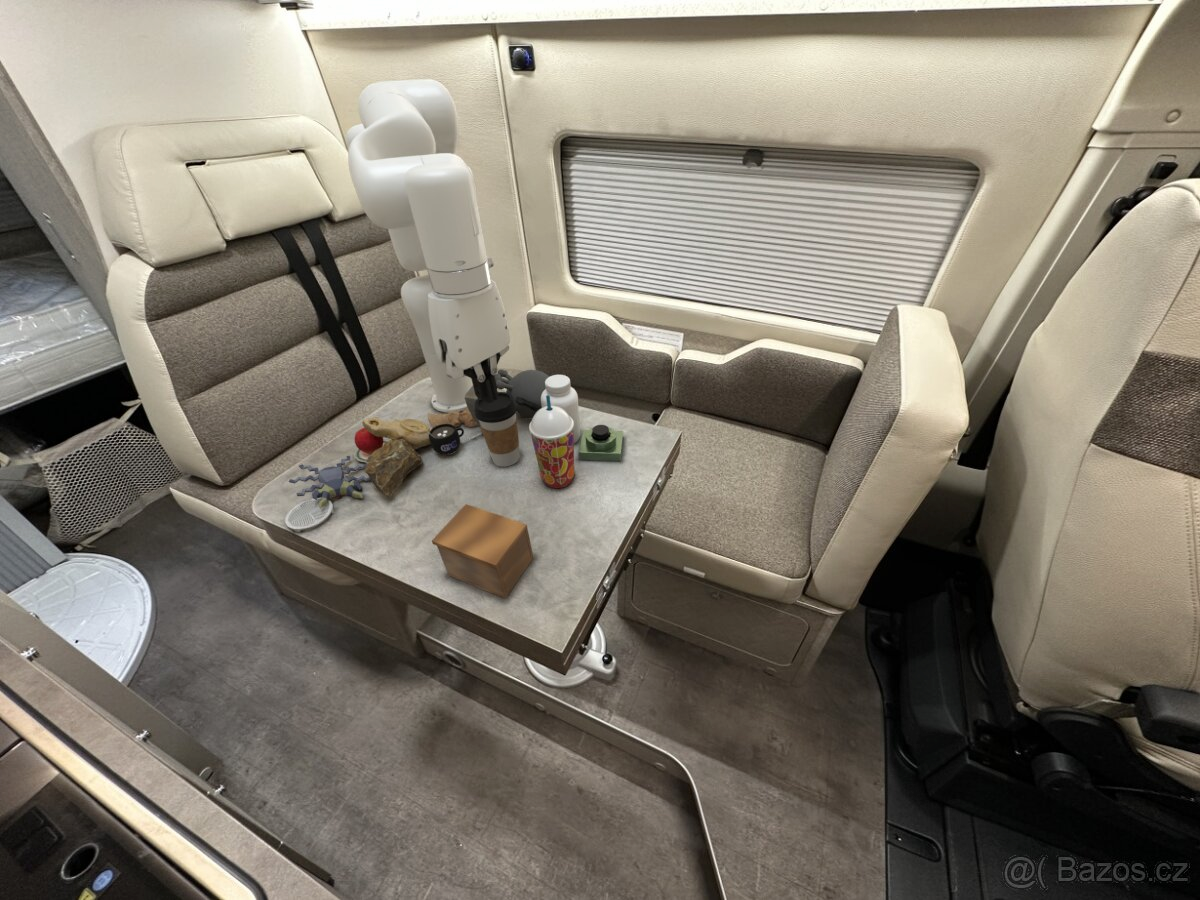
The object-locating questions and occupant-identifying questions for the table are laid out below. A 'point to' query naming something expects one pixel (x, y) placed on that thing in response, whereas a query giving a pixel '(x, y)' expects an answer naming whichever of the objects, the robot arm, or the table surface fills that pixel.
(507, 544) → the lid
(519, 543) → the box
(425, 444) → the oil lamp
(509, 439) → the coffee cup
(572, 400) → the pill bottle
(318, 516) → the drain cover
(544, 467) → the smoothie
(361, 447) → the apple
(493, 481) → the table surface
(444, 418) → the figurine
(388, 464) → the rock
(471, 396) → the stone
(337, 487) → the toy
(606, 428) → the button
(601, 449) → the button housing
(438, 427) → the mug
